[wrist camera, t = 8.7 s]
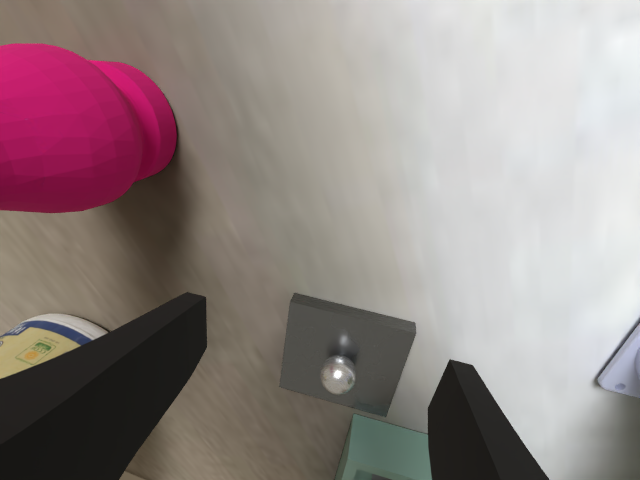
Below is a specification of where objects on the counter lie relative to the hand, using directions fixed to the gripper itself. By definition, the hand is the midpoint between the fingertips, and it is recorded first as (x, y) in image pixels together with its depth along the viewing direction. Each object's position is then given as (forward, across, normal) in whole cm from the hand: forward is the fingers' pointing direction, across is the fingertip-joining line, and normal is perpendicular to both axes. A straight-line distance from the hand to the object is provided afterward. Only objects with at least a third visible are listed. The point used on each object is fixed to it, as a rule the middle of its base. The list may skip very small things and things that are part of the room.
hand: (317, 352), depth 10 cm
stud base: (+10, -1, +10) cm, 14 cm away
